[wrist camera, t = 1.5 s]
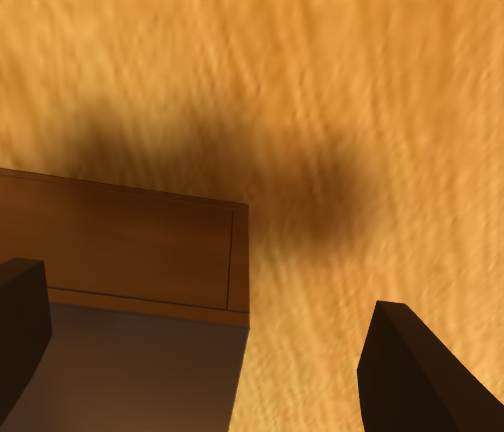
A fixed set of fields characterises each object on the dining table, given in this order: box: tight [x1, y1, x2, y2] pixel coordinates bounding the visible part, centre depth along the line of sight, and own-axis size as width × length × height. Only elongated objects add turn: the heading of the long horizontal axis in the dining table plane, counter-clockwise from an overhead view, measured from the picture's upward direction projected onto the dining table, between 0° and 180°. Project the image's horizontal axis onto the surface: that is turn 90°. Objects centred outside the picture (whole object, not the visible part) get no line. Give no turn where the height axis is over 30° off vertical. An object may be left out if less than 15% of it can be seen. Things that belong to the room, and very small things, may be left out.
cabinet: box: [0, 168, 250, 432], centre depth 19 cm, size 14×12×8 cm
